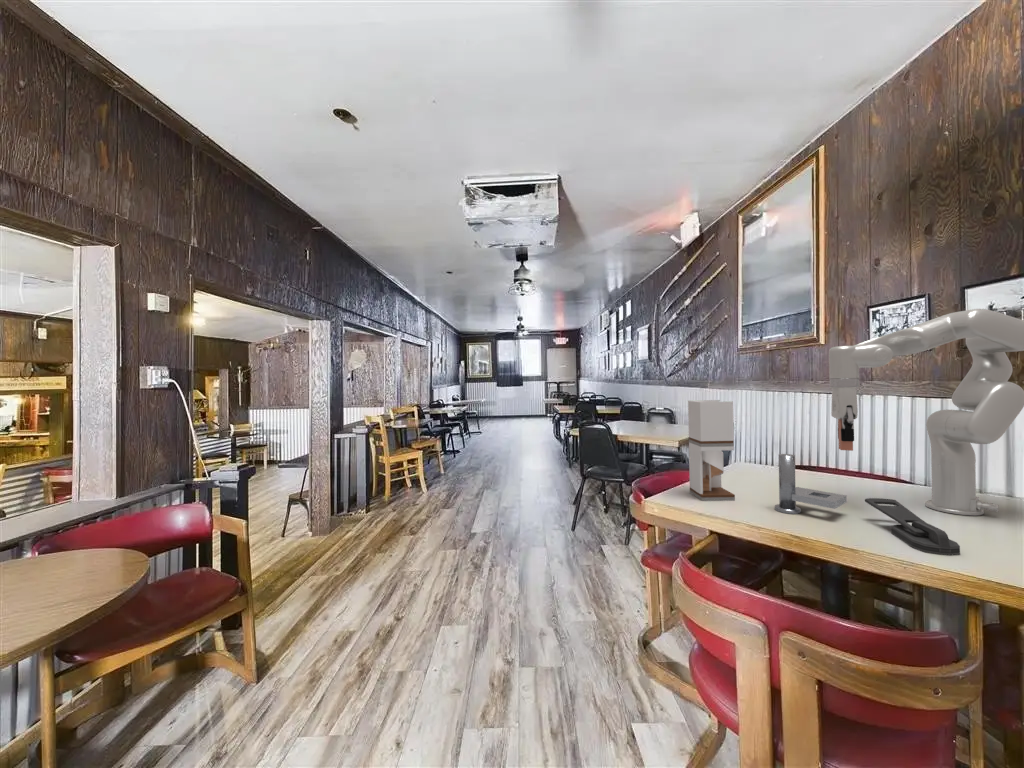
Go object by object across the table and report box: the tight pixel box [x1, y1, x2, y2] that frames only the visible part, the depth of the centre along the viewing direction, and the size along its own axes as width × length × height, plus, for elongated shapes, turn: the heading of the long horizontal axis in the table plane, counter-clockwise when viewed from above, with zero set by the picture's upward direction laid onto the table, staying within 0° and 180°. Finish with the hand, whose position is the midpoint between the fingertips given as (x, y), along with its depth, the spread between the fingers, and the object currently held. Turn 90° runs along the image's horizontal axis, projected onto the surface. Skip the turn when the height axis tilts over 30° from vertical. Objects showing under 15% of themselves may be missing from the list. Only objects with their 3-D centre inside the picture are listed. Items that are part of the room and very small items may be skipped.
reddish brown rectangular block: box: [837, 419, 854, 452], centre depth 132 cm, size 3×3×10 cm
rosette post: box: [774, 453, 848, 515], centre depth 129 cm, size 16×13×18 cm
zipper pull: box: [864, 497, 961, 556], centre depth 109 cm, size 9×7×25 cm
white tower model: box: [687, 399, 736, 502], centre depth 148 cm, size 11×11×35 cm
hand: (846, 439), depth 132 cm, fingers closed on reddish brown rectangular block, 3 cm apart
